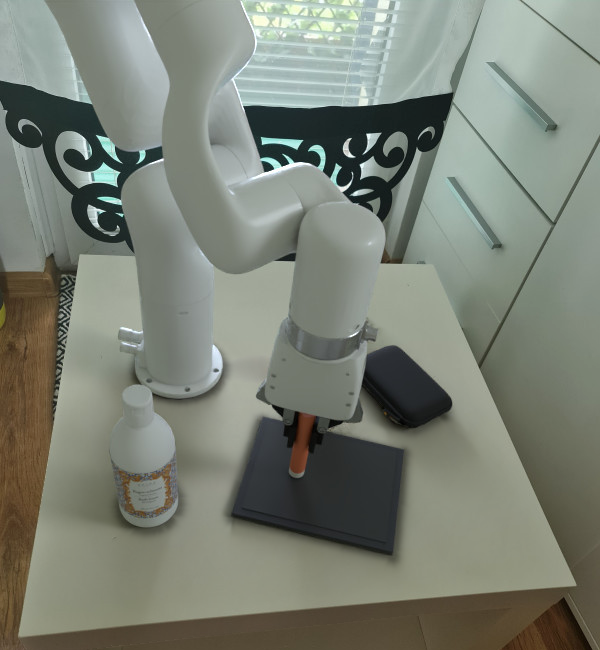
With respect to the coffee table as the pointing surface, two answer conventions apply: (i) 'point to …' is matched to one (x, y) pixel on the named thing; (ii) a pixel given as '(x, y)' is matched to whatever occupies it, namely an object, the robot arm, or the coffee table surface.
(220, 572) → the coffee table surface
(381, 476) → the tablet
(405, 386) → the carrying case
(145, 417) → the bath foam
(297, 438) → the orange cylindrical rod
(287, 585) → the coffee table surface
